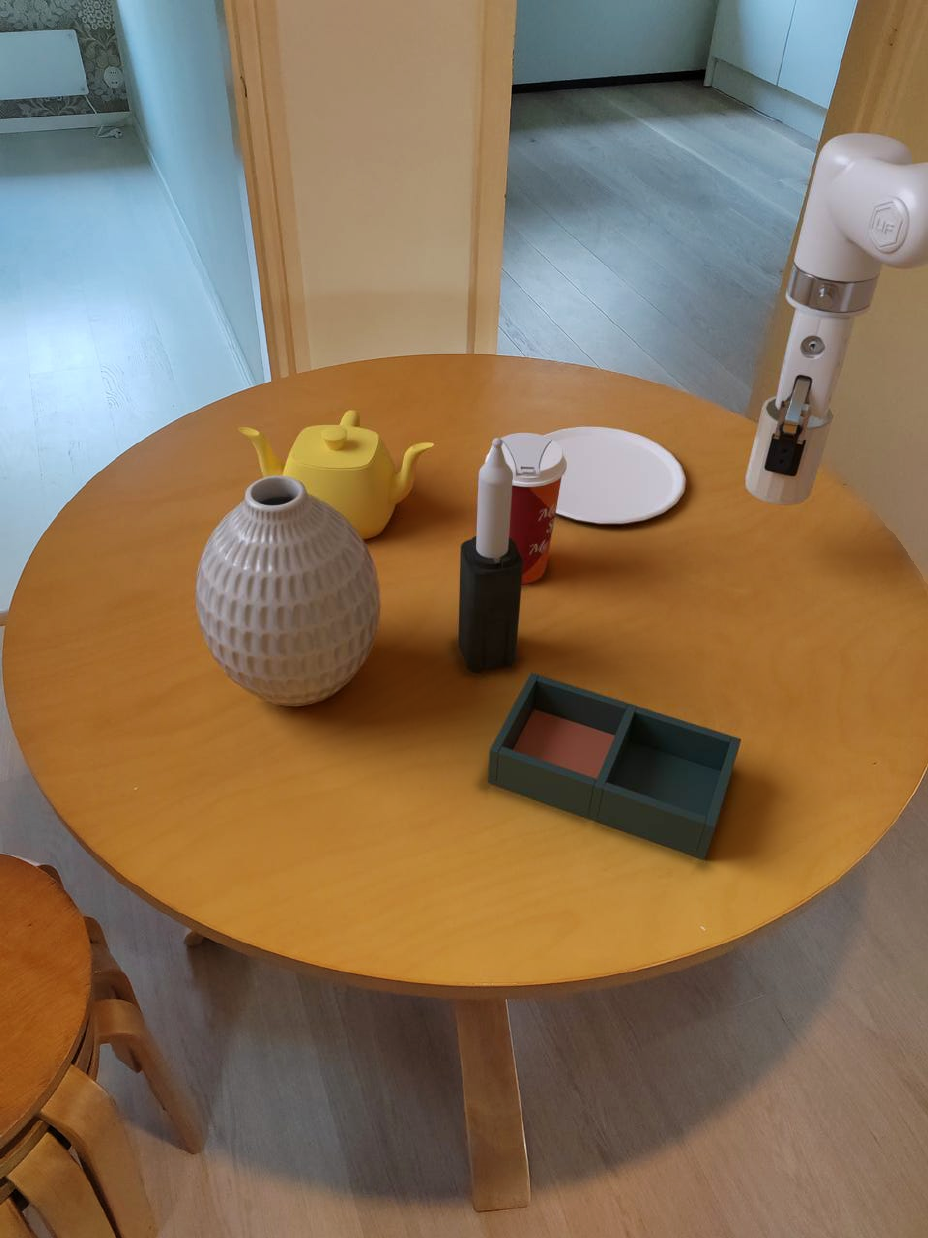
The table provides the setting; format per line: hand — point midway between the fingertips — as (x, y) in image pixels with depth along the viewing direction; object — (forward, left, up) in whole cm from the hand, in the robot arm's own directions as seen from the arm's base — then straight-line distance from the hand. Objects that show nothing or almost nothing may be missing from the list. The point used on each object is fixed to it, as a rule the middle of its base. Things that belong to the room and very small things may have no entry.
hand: (786, 452), depth 101 cm
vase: (+37, +38, -14) cm, 55 cm away
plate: (+21, -7, -14) cm, 26 cm away
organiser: (+6, +37, -14) cm, 40 cm away
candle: (+22, +27, -14) cm, 37 cm away
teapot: (+47, +11, -14) cm, 50 cm away
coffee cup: (+24, +13, -14) cm, 31 cm away
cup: (0, 0, -4) cm, 4 cm away
